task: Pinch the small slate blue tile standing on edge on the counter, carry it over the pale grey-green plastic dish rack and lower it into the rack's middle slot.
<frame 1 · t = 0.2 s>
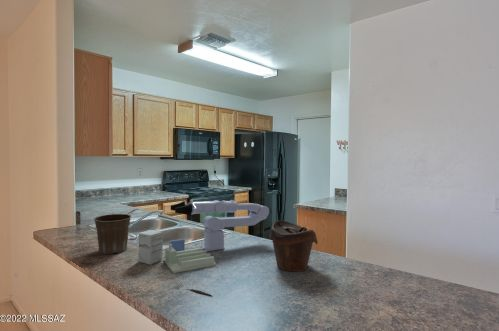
hand: (172, 209, 134), 21 cm above the countertop, tool horizontal, fingers open, 7 cm apart
fork: (193, 292, 98), on the countertop
slate blue tile: (176, 252, 137), on the countertop
brown covered basket: (292, 266, 121), on the countertop
dish rack: (189, 262, 124), on the countertop
plant pot: (113, 250, 139), on the countertop
supplement box: (150, 261, 125), on the countertop
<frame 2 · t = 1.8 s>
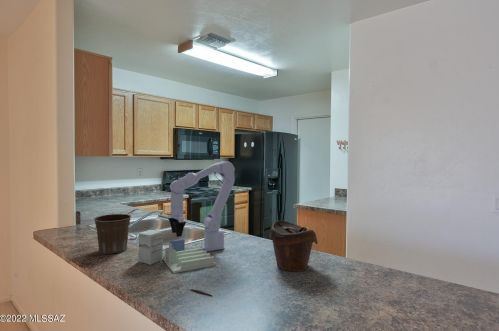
hand: (176, 234, 136), 9 cm above the countertop, tool pointing down, fingers open, 7 cm apart
nothing on the countertop moved.
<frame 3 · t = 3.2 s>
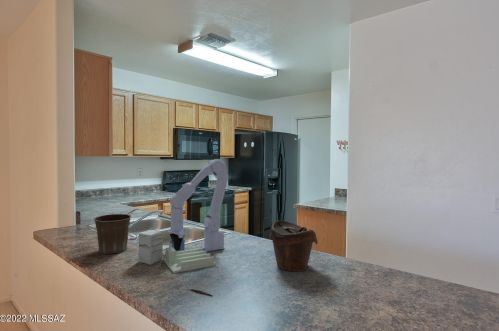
hand: (176, 249, 137), 2 cm above the countertop, tool pointing down, fingers closed on slate blue tile, 2 cm apart
slate blue tile: (176, 252, 137), on the countertop, touching gripper
everything else where it was.
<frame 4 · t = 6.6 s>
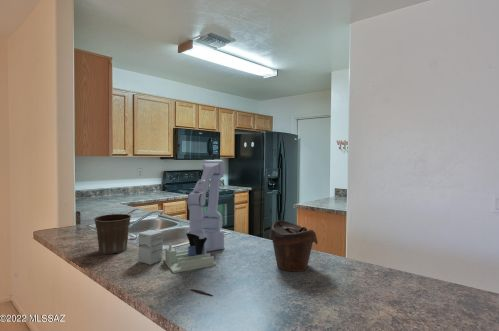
hand: (195, 251, 125), 4 cm above the countertop, tool pointing down, fingers open, 7 cm apart
slate blue tile: (196, 259, 125), point 1 cm above the countertop, touching dish rack
everything else where it was.
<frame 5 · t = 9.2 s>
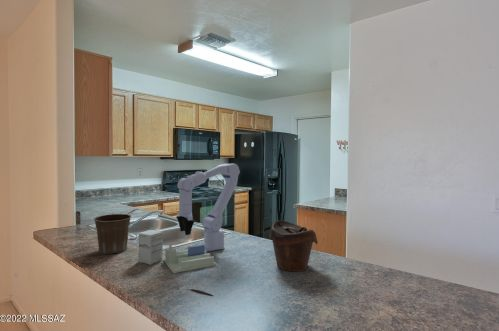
hand: (185, 232, 135), 10 cm above the countertop, tool pointing down, fingers open, 7 cm apart
nothing on the countertop moved.
at the end: slate blue tile inside the target area on the dish rack (1.9 cm from its centre), point 0.8 cm above the dish rack's base; slate blue tile tilted 0°; the gripper is holding nothing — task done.
